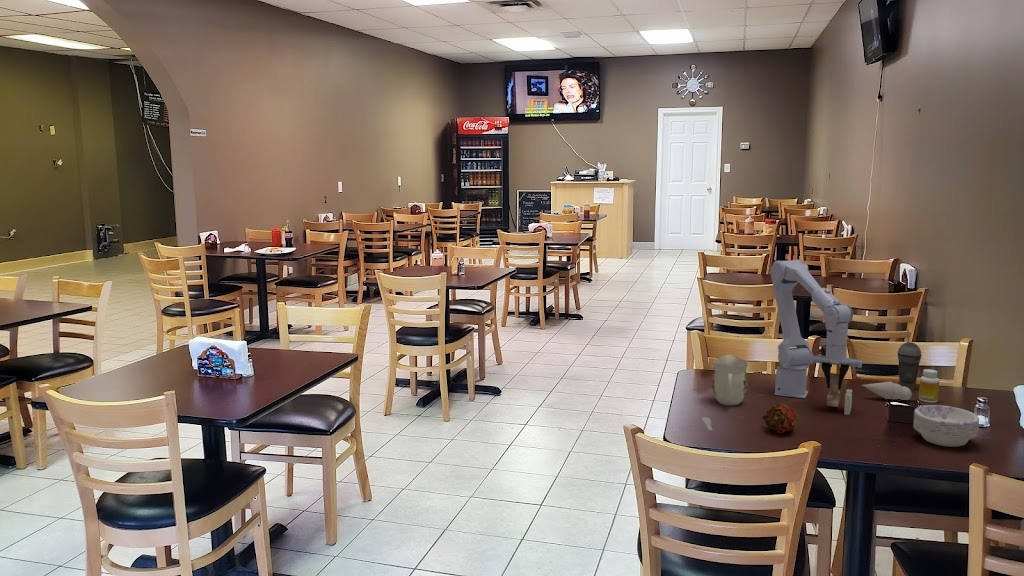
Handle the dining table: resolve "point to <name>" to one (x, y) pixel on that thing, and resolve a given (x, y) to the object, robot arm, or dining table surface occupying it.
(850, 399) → the tile
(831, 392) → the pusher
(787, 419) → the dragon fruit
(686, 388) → the dining table surface
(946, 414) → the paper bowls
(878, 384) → the ice cream cone
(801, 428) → the dining table surface
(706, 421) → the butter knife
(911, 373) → the beverage cup
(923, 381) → the supplement bottle
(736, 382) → the pitcher
